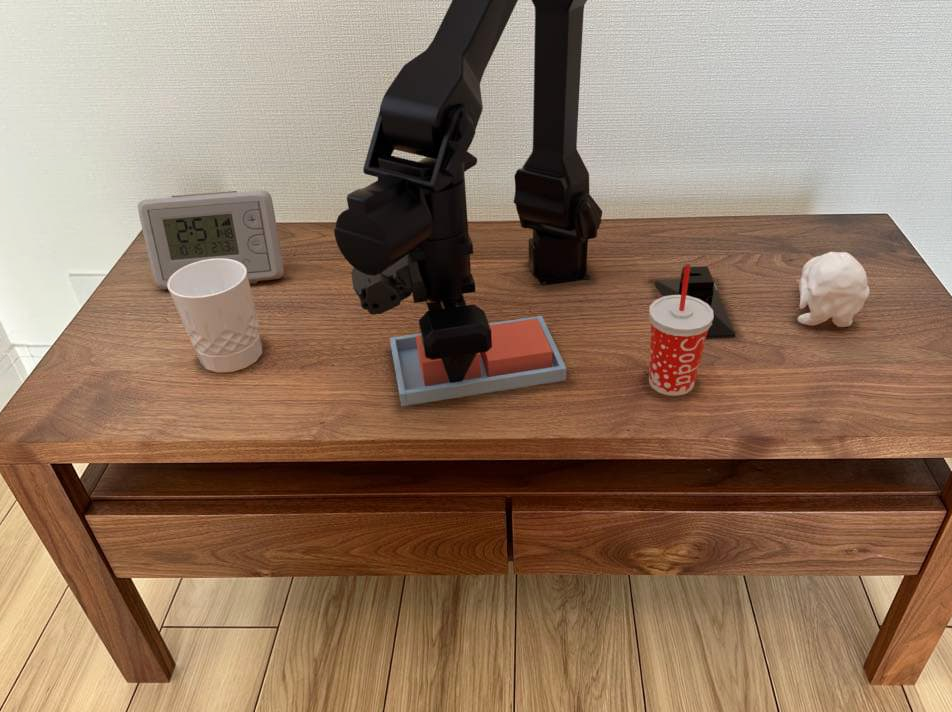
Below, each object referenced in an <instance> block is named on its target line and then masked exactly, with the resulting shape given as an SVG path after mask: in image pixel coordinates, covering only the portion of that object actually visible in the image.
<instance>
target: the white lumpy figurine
mask: <svg viewBox="0 0 952 712" xmlns="http://www.w3.org/2000/svg"><path fill="white" fill-rule="evenodd" d="M796 282H797V283H798V284H797V287H798V290H799V291H798V292H799V299H800V300H799V301H800V302H799V309H805V308H806V307H807V306H808V308H809V312H806V313H802V314H801V315H799V316H798V317H797V322H798V323H799V324H801V325H806V326H811V327H812V326H816V325H820V324H822V323H824V322H827V321H828V320H829V319H831V321H832V323H833V324H834V325H835V326H837V327H838V328H846V327H850V326H852V325H853V318H854V316H855V315H856V314H858V313H859V312H860V311H861V310H862V308H863V307H864V305H865V303H866V300H867V299H868V298H869V296H870V287H869V285H868V276H867V273H866V270H865V269H864V267H863V265H862V264H861V263H860V261H858V260H857V259H856V258H855V257H854V256H853V255H852V254H850V253H849V252H845V251H841V252H838V251H829V252H827V253H823V254H821V255H817V256H814V257H812V258H810V259H809V260H808V261H806V263H805V264H804V265H803V267H802V270H801V278H798V279H796Z"/></svg>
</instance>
